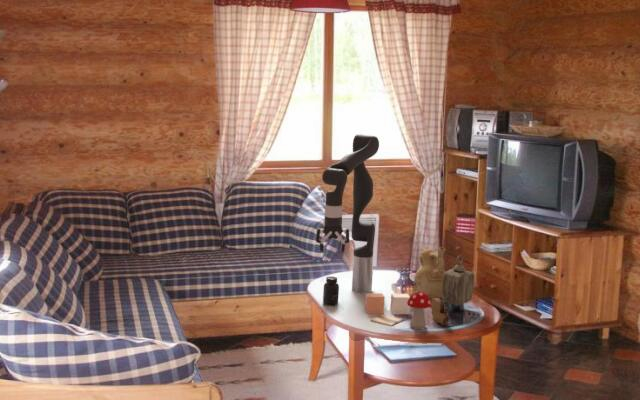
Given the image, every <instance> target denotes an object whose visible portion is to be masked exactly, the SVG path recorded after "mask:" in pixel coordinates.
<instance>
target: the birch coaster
mask: <svg viewBox="0 0 640 400" xmlns="http://www.w3.org/2000/svg"><path fill="white" fill-rule="evenodd" d="M403 320H404V319H403V318H401V317H397V316H393V315H388V314H385V313H384V314H378V315H377V316H375V317H373V318H371V319H370V322H372V321H373V323H377V324H381V325H386V326H388V327H392V326H394V325H396V324H398V323H400V322H402V321H403Z"/></svg>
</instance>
